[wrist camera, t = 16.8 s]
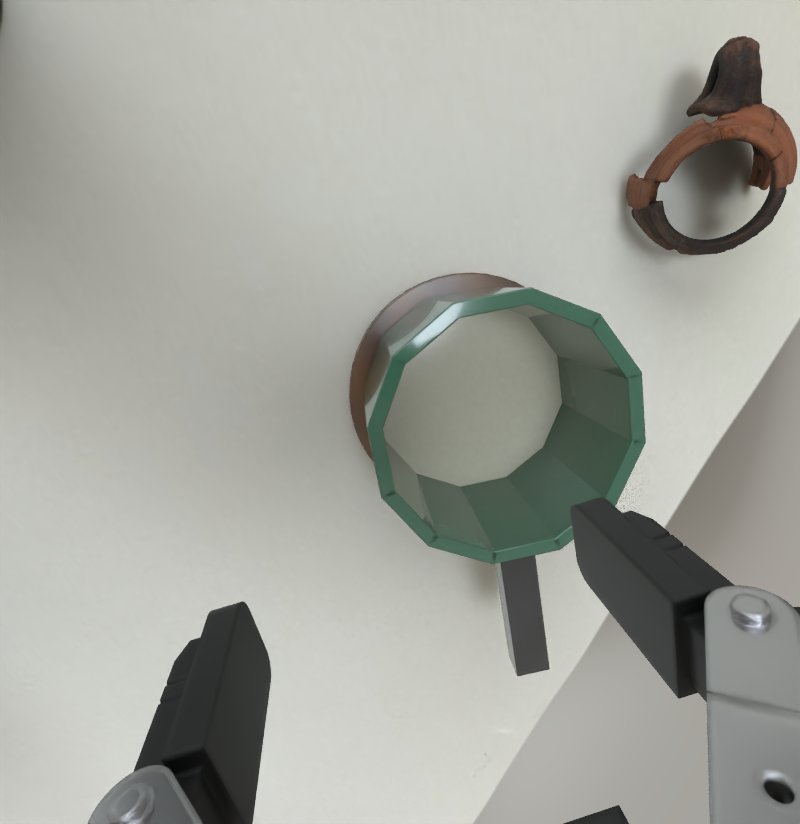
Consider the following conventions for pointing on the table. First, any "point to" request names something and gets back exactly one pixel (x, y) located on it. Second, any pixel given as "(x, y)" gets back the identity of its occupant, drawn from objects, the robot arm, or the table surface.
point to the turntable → (390, 318)
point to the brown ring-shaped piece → (738, 120)
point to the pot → (502, 433)
